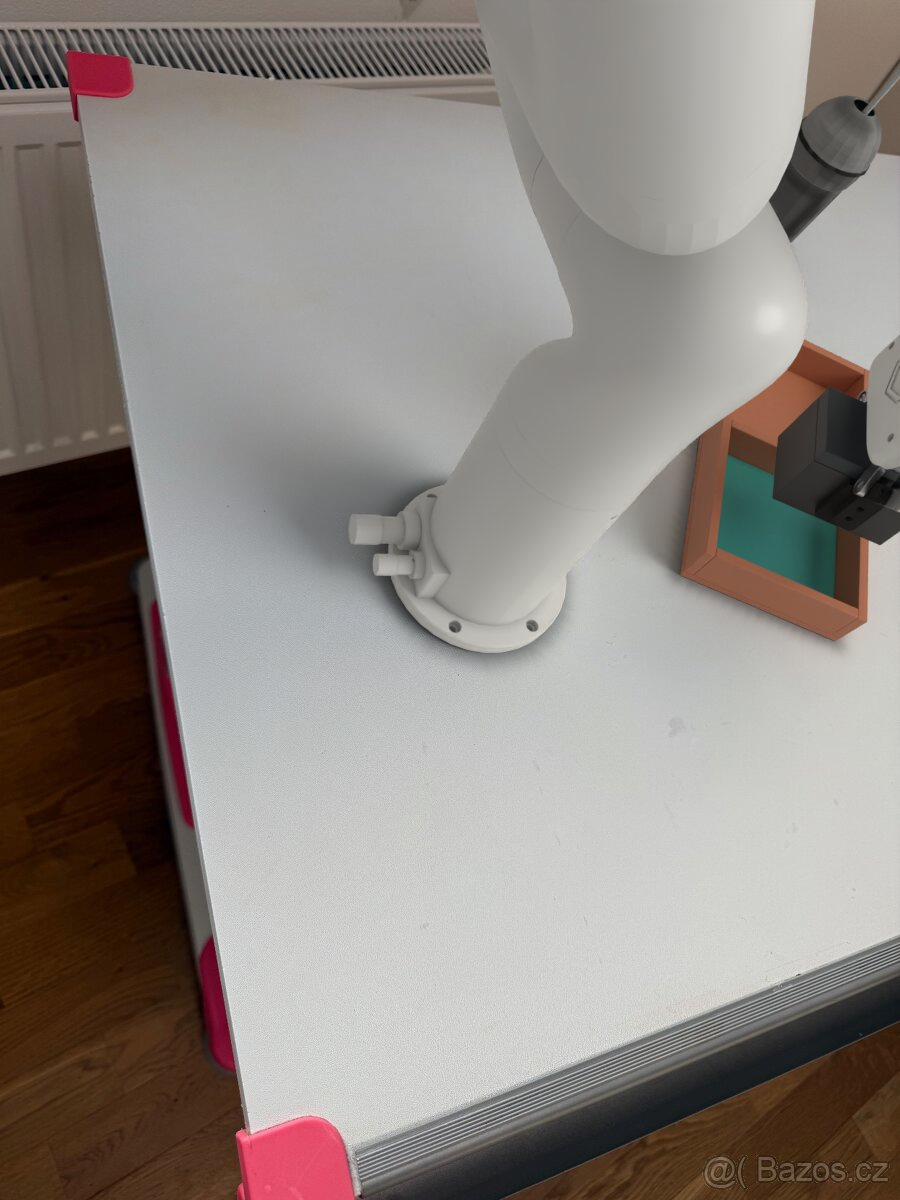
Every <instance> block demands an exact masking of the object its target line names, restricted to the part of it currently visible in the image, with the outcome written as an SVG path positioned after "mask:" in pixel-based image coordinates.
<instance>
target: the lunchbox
mask: <svg viewBox="0 0 900 1200" xmlns="http://www.w3.org/2000/svg"><path fill="white" fill-rule="evenodd" d="M871 463H872V462H871V461H870V458H869V455H868V452H867V403H864V402H862V401H860V400H858V399H856V398H854V397H851V396H849V395H847V394H845V393H843V392H841V391H838V390H836V389H834V388H832V387H829V388H827V389H826V390H825V391H824V392H823V393H822V394H821V395H820V396H819V397H818V398H817V399H816V400H815V401H814V402H813V403H812V404H811V405H810V406H809V407H808V408H807V409H806V410H805V411H804V412H803V413H802V414H801V415H800V416H799V417H798V418H797V419H795V420H794V421H793V422H792V423H791V424H790V425H789V426H788V427H787V428H786V429H785V430H784V431H783V432H782V433H781V434H780V435H779V436H778V442H777V453H776V463H775V474H774V485H773V496H772V498H773V499H775V500H777V501H779V502H782V503H784V504H786V505H789V506H791V507H793V508H795V509H798V510H800V511H802V512H805V513H807V514H809V515H811V516H814V517H816V516H815V508H816V506H818V505H819V504H820V503H821V502H822V501H824V500H825V499H826V498H827V497H829V496H830V495H831V494H832V493H833V492H835V491H836V490H837V489H838V488H839V487H841V486H842V485H843V484H844V483H846V482H847V481H848V480H849V479H851V480H855V481H857V480H858V479H859V478H860V476H861V475H862V474H863V473H864V471H865V470H866V469H867V468H868V466H869V465H870V464H871ZM899 476H900V474H898V473H896V472H894V471H892V470H889V469H887V470H886V471H885V472H884V473H883V475H882V476H881V477H880V478H879V480H878V481H877V482H876V483H879V484H882V485H885V486H888V487H891V486H892V485H893V483H894V482H895V481H896V480H897V479H898V477H899ZM816 518H818V517H816ZM818 519H820V518H818ZM821 520H822V519H821ZM823 521H824V520H823ZM825 522H827V521H825ZM827 523H829V522H827ZM830 524H831V523H830ZM832 525H834V524H832ZM834 526H836V525H834ZM837 527H838V526H837ZM839 528H840V527H839ZM841 529H843V528H841ZM843 530H845V529H843ZM846 531H848V530H846ZM848 532H850V533H853V534H855V535H857V536H860V537H862V538H864V539H866V540H869V542H870V543H874V544H876V545H878V546H882V545H883V544H885V543H886V542H887V541H889V540H890V539H891V538H893V537H895V536H896V535H897V534H898V533H900V513H899V512H896V511H893V510H890V509H887V508H885V507H884V508H883V509H882V510H880V511H879V512H878V513H876V514H875V515H874V516H872V517H871V518H870V519H868V520H867V521H866V522H864V523H863V524H862V525H860V526H859V527H858V528H856V529H855V530H853V531H848Z"/></svg>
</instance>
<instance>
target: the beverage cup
mask: <svg viewBox="0 0 900 1200" xmlns="http://www.w3.org/2000/svg"><path fill="white" fill-rule="evenodd" d="M899 80H900V68H899V69H898V70H897V71H896V73H894V75H893V76H892V77H891V78H890V80H888V81H887V83H886V84H885V85H884V86H883V87H882V88H881V90H879V92H878V93H877V94H875V96H874V97H873V99H872V100H871V101H870V102H869V101H867V100H866V99H864V98H862V97H860V96H856V95H848V94H847V95H839V96H836V97H832V98H829V99H827V100H825V101H822V102H821V103H819V104H818V105H817V106H815V108H813V109H812V110H811V111H810V112H809V113H808V115H805V116H804V118H802V122H801V125H800V129H799V133H798V136H797V140H796V143H795V147H794V150H793V154H792V157H791V159H790V162H789V164H788V166H787V168H786V170H785V172H784V174H783V176H782V178H781V181H780V183H779V185H778V187H777V189H776V190H775V192H774V193H773V195H772V196H771V198H770V199H769V202H770V204H771V206H772V208H773V210H774V212H775V213H776V215H777V217H778V219H779V221H780V223H781V225H782V227H783V229H784V231H785V232H786V234H787V236H788V239H789V241H790V243H791V244H792V243H793V242H794V241H795V240H796V239H797V238H798V237H799V236H800V235H801V234H802V233H803V232H804V231H805V229H807V228H808V227H809V226H810V225H811V224H812V223H813V221H815V220H816V219H817V217H819V215H821V214H822V213H823V211H824V210H826V209H827V207H829V206H830V205H831V203H833V202H834V201H835V199H837V198H838V196H839V195H840V194H841V193H842V192H843V191H844V190H845V191H846V190H847V189H848V188H849V187H851V186H852V185H853V184H855V182H857V181H858V180H859V178H860V177H862V176H865V175H866V173H867V172H868V170H869V169H870V167H871V164H872V163H873V161H874V160H875V158H876V156H877V154H878V152H879V149H880V147H881V142H882V133H883V132H882V131H883V129H882V128H883V127H882V121H881V118H880V115H879V113H878V111H877V110H876V108H875V107H876V106H877V105H878V104H879V103H880V101H881V100H882V99H883V98H884V97H885V96H886V95H887V93H888V92H889V91H890V90H891V89H892V88H893V87H894V86H895V84H896V83H897V82H898V81H899Z"/></svg>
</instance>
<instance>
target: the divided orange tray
mask: <svg viewBox="0 0 900 1200" xmlns="http://www.w3.org/2000/svg"><path fill="white" fill-rule="evenodd" d="M869 371H870V369H867V368H865V367H863V366H860V365H859V364H857V363H854V362H852V361H850V360H848V359H846V358H844V357H842V356H840V355H837V354H836V353H833V352H832V351H830V350H827V349H825V348H823V347H821V346H820V345H816V344H815V343H813V342H811V341H809V340H806V339H805V338H804V341H803V344H802V346H801V349H800V351H799V352H798V354H797V356H796V358H795V359H794V361H793V362H792V364H791V365H790V366H789V367H788V369H787V370H786V371H785V372H784V373H783V374H782V375H781V376H780V377H779V378H778V379H777V380H776V381H775V382H774V383H773V384H771V385H770V386H769V387H767V388H766V389H765V390H763V391H762V392H761V393H760V394H758V395H757V396H755V397H754V398H752V399H751V400H749V401H748V402H747V403H745V404H744V405H742V406H741V407H739V408H738V409H736V410H735V411H733V412H732V413H730V414H729V415H727V416H726V417H724V418H723V419H721V420H720V421H719V422H717V423H716V424H715V425H713V426H712V427H710V428H709V429H708V430H706V431H705V432H704V433H702V434H701V435H700V436H699V440H698V448H697V454H696V461H695V467H694V475H693V482H692V487H691V488H692V489H691V496H690V503H689V510H688V516H687V524H686V529H685V530H686V531H685V538H684V545H683V552H682V559H681V565H680V573H679V575H680V576H681V577H683V578H686V579H689V580H691V581H693V582H695V583H698V584H700V585H703V586H704V587H706V588H707V587H708V588H710V589H712V590H714V591H717V592H718V593H722V594H724V595H726V596H728V597H731V598H733V599H736V600H738V601H740V602H742V603H745V604H747V605H749V606H751V607H754V608H756V609H758V610H761V611H763V612H765V613H768V614H770V615H773V616H775V617H777V618H780V619H782V620H784V621H787V622H789V623H791V624H794V625H796V626H799V627H801V628H803V629H806V630H807V631H810V632H813V633H815V634H818V635H820V636H822V637H824V638H826V639H829V640H832V641H834V642H837V641H838V640H840V639H841V638H844V637H845V636H847V635H848V634H850V633H852V632H853V631H854V630H856V629H858V628H860V627H861V626H863V625H864V624H866V623H868V610H869V608H868V607H869V606H868V605H869V603H868V602H869V556H870V555H869V554H870V553H869V552H870V549H869V547H870V541H869V540H866V539H864V538H862V537H860V536H857V535H855V534H853V533H850V532H848V531H846V530H843V529H841V528H839V527H837V526H834V525H832V524H830V523H827V522H825V521H823V520H821V519H818V518H816V517H814V516H811V515H809V514H807V513H805V512H802V511H800V510H798V509H795V508H793V507H791V506H789V505H786V504H784V503H782V502H779V501H777V500H775V499H773V498H772V496H773V485H774V474H775V463H776V453H777V442H778V436H779V435H780V434H781V433H782V432H783V431H784V430H785V429H786V428H787V427H788V426H789V425H790V424H791V423H792V422H793V421H794V420H795V419H797V418H798V417H799V416H800V415H801V414H802V413H803V412H804V411H805V410H806V409H807V408H808V407H809V406H810V405H811V404H812V403H813V402H814V401H815V400H816V399H817V398H818V397H819V396H820V395H821V394H822V393H823V392H824V391H825V390H826V389H827V388H829V387H832V388H834V389H836V390H838V391H841V392H843V393H845V394H847V395H849V396H851V397H854V398H856V399H857V398H858V396H859V394H860V393H861V392H862V391H863V390H865V389H867V388H868V378H869Z"/></svg>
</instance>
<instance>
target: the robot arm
mask: <svg viewBox="0 0 900 1200" xmlns="http://www.w3.org/2000/svg"><path fill="white" fill-rule="evenodd" d="M473 1H474V6H475V12H476V17H477V19H478V23H479V27H480V32H481V35H482V40H483V43H484V47H485V51H486V55H487V58H488V62H489V66H490V70H491V74H492V78H493V82H494V85H495V89H496V93H497V96H498V101H499V105H500V109H501V113H502V116H503V119H504V123H505V128H506V131H507V135H508V139H509V142H510V145H511V149H512V152H513V156H514V160H515V163H516V166H517V171H518V174H519V177H520V180H521V182H522V186H523V189H524V191H525V194H526V196H527V199H528V202H529V204H530V207H531V209H532V212H533V214H534V217H535V219H536V221H537V224H538V226H539V229H540V231H541V234H542V235H543V236H542V237H543V239H544V242H545V244H546V247H547V248H548V251H549V253H550V256H551V258H552V261H553V263H554V265H555V268H556V270H557V276H558V279H559V282H560V284H561V287H562V289H563V293H564V295H565V297H566V300H567V303H568V306H569V309H570V314H571V320H572V321H571V322H572V332H571V336H570V337H563V338H557V339H554V340H550V341H547V342H545V343H543V344H540V345H538V346H536V347H535V348H533V349H532V350H531V351H529V352H528V353H527V354H526V355H524V356H523V358H522V359H521V360H520V361H519V362H518V363H517V364H516V365H515V366H514V368H513V370H512V371H511V372H510V374H509V375H508V377H507V378H506V381H505V382H504V384H503V386H502V387H501V389H500V390H499V392H498V393H497V394H498V395H497V397H496V398H495V400H494V402H493V403H492V405H491V407H490V408H489V410H488V412H487V414H486V415H485V417H484V418H483V420H482V422H481V424H480V425H479V427H478V429H477V430H476V432H475V434H474V436H473V437H472V438H471V440H470V442H469V444H468V445H467V447H466V448H465V451H464V452H463V453H462V455H461V457H460V459H459V460H458V462H457V464H456V465H455V467H454V469H453V470H452V472H451V474H450V476H449V477H448V479H447V480H446V482H445V483H444V484H440V485H437V486H435V487H431V488H429V489H427V490H425V491H423V492H422V493H420V494H419V495H416V496H415V497H414V498H413V499H412V500H411V501H410V502H409V503H408V504H407V505H406V506H405V507H404V509H403V510H400V511H399V512H398V513H397V514H396V516H391V515H390V516H388V515H381V514H367V513H366V514H365V513H352V514H351V515H350V517H349V520H348V539H349V543H350V544H351V545H367V546H372V545H373V546H375V545H376V546H380V545H383V544H386V545H387V544H388V546H387V553H374V554H373V557H372V571H373V574H374V576H378V577H379V576H381V577H382V576H384V577H385V576H386V577H387V576H389V577H390V579H391V582H392V584H393V587H394V590H395V592H396V594H397V596H398V598H399V599H400V601H401V602H402V604H403V606H404V607H405V609H406V610H407V611H408V613H409V614H410V615H411V616H412V617H413V618H414V619H415V620H416V621H417V623H419V625H421V626H422V627H423V628H424V629H426V630H427V631H428V632H429V633H431V634H432V635H433V636H435V637H437V638H439V639H440V640H441V641H444V642H446V643H448V644H450V645H451V646H455V647H457V648H460V649H463V650H467V651H470V652H476V653H484V654H499V653H501V654H502V653H505V652H511V651H515V650H519V649H521V648H524V647H525V646H527V645H530V644H531V643H533V642H534V641H536V640H537V639H538V638H539V637H540V636H542V635H543V634H544V633H545V632H546V631H547V630H548V629H549V628H550V627H551V626H552V624H554V622H555V620H556V619H557V617H558V616H559V614H560V613H561V610H562V607H563V604H564V600H565V598H566V591H567V584H568V583H567V581H568V580H567V574H568V573H570V571H571V570H572V569H573V568H574V567H575V565H576V564H577V563H578V562H579V561H580V560H581V559H582V558H583V557H584V556H585V555H586V554H587V552H588V551H589V550H590V549H591V548H592V547H593V546H594V545H595V544H596V543H597V541H599V539H600V538H601V537H603V535H604V534H605V533H606V532H607V531H608V530H609V528H611V527H612V525H613V524H614V523H615V522H616V521H617V520H618V519H619V518H620V516H621V515H623V514H624V512H625V511H626V510H627V509H628V508H629V507H630V506H631V505H632V503H634V501H636V499H637V498H638V497H639V496H640V494H641V493H642V492H643V491H644V490H645V489H646V488H647V487H648V486H649V485H650V484H651V483H652V482H653V481H654V480H655V479H656V477H657V476H658V475H659V474H660V473H661V472H662V471H663V470H664V469H666V467H667V466H668V465H669V464H670V463H671V462H672V461H673V460H674V459H675V458H676V457H677V456H678V455H680V453H681V452H683V451H684V449H686V448H687V447H688V446H689V445H690V444H691V443H693V442H694V441H696V439H698V438H700V435H701V434H702V433H704V432H705V431H706V430H708V429H709V428H710V427H712V426H713V425H715V424H716V423H717V422H719V421H720V420H721V419H723V418H724V417H726V416H727V415H729V414H730V413H732V412H733V411H735V410H736V409H738V408H739V407H741V406H742V405H744V404H745V403H747V402H748V401H749V400H751V399H752V398H754V397H755V396H757V395H758V394H760V393H761V392H762V391H763V390H765V389H766V388H767V387H769V386H770V385H771V384H773V383H774V382H775V381H776V380H777V379H778V378H779V377H780V376H781V375H782V374H783V373H784V372H785V371H786V370H787V369H788V367H789V366H790V365H791V364H792V362H793V361H794V359H795V358H796V356H797V354H798V352H799V351H800V349H801V346H802V344H803V341H804V339H805V337H806V333H807V329H808V323H809V299H808V292H807V288H806V282H805V278H804V275H803V272H802V269H801V266H800V263H799V260H798V257H797V255H796V252H795V250H794V248H793V246H792V243H790V241H789V239H788V236H787V234H786V232H785V231H784V229H783V227H782V225H781V223H780V221H779V219H778V217H777V215H776V213H775V212H774V210H773V208H772V206H771V204H770V202H769V199H770V198H771V196H772V195H773V193H774V192H775V190H776V189H777V187H778V185H779V183H780V181H781V178H782V176H783V174H784V172H785V170H786V168H787V166H788V164H789V162H790V159H791V157H792V154H793V150H794V147H795V143H796V140H797V136H798V133H799V129H800V125H801V122H802V119H803V116H804V111H805V102H806V93H807V84H808V75H809V74H808V73H809V65H810V64H809V63H810V55H811V47H812V36H813V29H814V27H813V26H814V19H815V10H816V9H815V8H816V0H473ZM857 399H858V400H860V401H862V402H864V403H867V452H868V455H869V458H870V461H871V462H872V463H871V464H870V465H869V466H868V468H867V469H866V470H865V471H864V473H863V474H862V475H861V476H860V478H859V479H858V480H857V481H855V480H851V479H849V480H848V481H847V482H846V483H844V484H843V485H842V486H841V487H839V488H838V489H837V490H836V491H835V492H833V493H832V494H831V495H830V496H829V497H827V498H826V499H825V500H824V501H822V502H821V503H820V504H819V505H818V506H816V508H815V516H816V517H818V518H820V519H822V520H824V521H827V522H829V523H831V524H834V525H836V526H838V527H840V528H843V529H845V530H848V531H853V530H855V529H856V528H858V527H859V526H860V525H862V524H863V523H864V522H866V521H867V520H868V519H870V518H871V517H872V516H874V515H875V514H876V513H878V512H879V511H880V510H882V509H883V508H884V507H885V508H887V509H890V510H893V511H896V512H899V513H900V476H899V477H898V479H897V480H896V481H895V482H894V483H893V485H892V486H891V487H888V486H885V485H882V484H879V483H876V482H877V481H878V480H879V478H880V477H881V476H882V475H883V473H884V472H885V471H886V470H887V469H889V470H892V471H894V472H896V473H898V474H900V334H899V335H897V337H896V338H895V339H893V340H892V341H891V342H890V343H888V344H887V346H886V347H884V348H883V349H882V350H881V351H880V352H879V353H878V355H876V357H874V359H873V360H872V362H871V365H870V368H869V378H868V388H867V389H865V390H863V391H862V392H861V393H860V394H859V396H858V398H857Z"/></svg>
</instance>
